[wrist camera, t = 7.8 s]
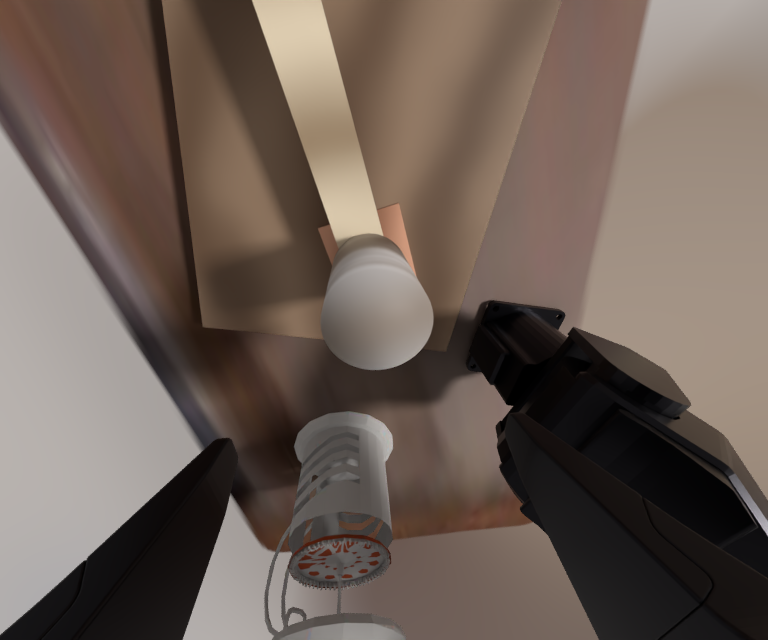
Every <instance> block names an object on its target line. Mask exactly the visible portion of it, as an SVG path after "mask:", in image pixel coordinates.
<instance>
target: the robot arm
mask: <svg viewBox="0 0 768 640" xmlns="http://www.w3.org/2000/svg"><path fill="white" fill-rule="evenodd" d="M495 306H497V307H496V309H493V307H495ZM557 315H558V317H556V316H557ZM564 318H565V313H564V312H563V311H561V310H559V309H553V308H546V307H538V306H531V305H524V304H516V303H509V302H502V301H492V302H490V303H489V305H488V307H487V309H486V312H485V315H484V317H483V320H482V323H481V325H480V326H479V327H478V329H477V332H476V335H475V337H474V340H473V343H472V345H471V348H470V351H469V352H470V354H469V357H468V360H467V362H466V366H467V368H468V370H470V371H476V372H482V373H483V374H484V376H485V377H486V379H487V381H488V382H489V384H490V385H494V386H495V387H496V389H497V390H498V392H499V393H500V395H501V397H502V398H503V400H504V401H505V403H506V404H507V405H511V406H513V407H512V408H511V410H510V411H509V412H508V414H507V415H506V416H505V417H504V419H503V420H502V421H499V422H498V424H497V425H496V432H497V438H498V443H497V449H498V453H499V456H500V460H501V462H502V463H501V464H500V466H499V468H500V471H501V473H502V475H503V477H504V478H505V480H506V482H507V483H508V485H509V486H510V488H511V490H512V491H513V492H514V494H515V495H516V496H517V498H518V499H519V500H520V501H521V502H522V503H523V505H522V506H521V507H520V510H521V512H522V513H523V514H524V515H525V516H526V517H528V518H529V519H530V520H531V521H533V522H534V523H535V524H537V525H538V526H539V527H540V528H541V529H542V530H543V531H544V532H545V533H546V534H547V535H548V536H549V538H550V540H551V542H552V544H553V546H554V548H555V550H556V552H557V555H558V556H559V558H560V561H561V563H562V565H563V567H564V569H565V571H566V573H567V575H568V577H569V579H570V581H571V583H572V585H573V587H574V589H575V591H576V593H577V595H578V597H579V600H580V601H581V603H582V606H583V608H584V610H585V612H586V613H587V616H588V618H589V620H590V622H591V624H592V626H593V628H594V630H595V632H596V634H597V636H598V638H599V640H768V500H767V499H766V497H765V495H764V494H763V492H762V491H761V490H760V488H759V487H758V485H757V483H756V482H755V480H754V479H753V477H752V476H751V474H750V473H749V471H748V470H747V468H746V467H745V465H744V464H743V462H742V461H741V459H740V458H739V456H738V455H737V453H736V451H735V450H734V448H733V447H732V446H731V444H730V443H729V441H728V439H727V438H726V437H725V436H724V435H723V434H722V433H720V432H719V431H718V430H716V429H715V428H713V427H712V426H710V425H709V424H707V423H706V422H704V421H703V420H701V419H699V418H698V417H696V416H695V415H693V414H692V413H690V412H689V411H687V410H686V409H688V408H689V407H690V406H691V403H690V401H689V400H688V398H687V397H686V396H685V395H684V393H683V392H682V391H681V389H680V388H679V387H678V386H677V384H676V383H675V381H674V380H673V379H672V378H671V376H670V375H669V374H668V373H667V371H666V370H664V369H663V368H661V367H660V366H658V365H656V364H655V363H653V362H651V361H650V360H648V359H646V358H644V357H643V356H641V355H639V354H638V353H636V352H634V351H632V350H631V349H629V348H627V347H625V346H622V345H619V344H617V343H614V342H612V341H609V340H606V339H604V338H601V337H599V336H596V335H593V334H590V333H588V332H586V331H583V330H580V329H578V328H575V327H573V328H572V329H571V330H570V332H569V333H568V335H569V336H568V337H566V336H565V335H563V334H562V333H561V332H560V331H558V329H559V327H560V326H561V324H562V322H563V320H564ZM472 364H474V365H473V366H471V365H472ZM237 463H238V455H237V452H236V449H235V447H234V444H233V442H232V440H231V439H230V438H220V439H216V440H214V441H213V442H212V443H211V444H210V445H209V446H208V447H206V448H205V449H204V450H203V451H202V452H201V453H200V454H199V455H198V456H197V457H196V458H195V459H193V460H192V461H191V462H190V463H189V464H188V465H187V466H186V467H185V468H184V469H183V470H182V471H180V473H178V474H177V475H176V476H175V477H174V478H173V479H172V480H171V481H170V482H169V483H167V484H166V485H165V486H164V487H163V488H162V489H161V490H160V491H159V492H158V493H157V494H156V495H154V496H153V497H152V498H151V499H150V500H149V501H148V502H147V503H146V504H145V505H144V506H143V507H141V509H139V510H138V511H137V512H136V513H135V514H134V515H133V516H132V517H131V518H130V519H129V520H127V521H126V522H125V523H124V524H123V525H122V526H121V527H120V528H119V529H118V530H117V531H116V532H115V533H113V534H112V535H111V536H110V537H109V538H108V539H107V540H106V541H105V542H104V543H103V544H102V545H100V546H99V547H98V548H97V549H96V550H95V551H94V552H93V553H92V554H91V555H90V556H88V558H87V561H86V560H85V561H83V562H82V563H81V564H80V565H79V566H77V567H76V568H75V569H74V570H73V571H72V572H71V573H70V574H69V575H68V576H67V577H66V578H64V579H63V580H62V581H61V582H60V583H59V584H58V585H57V586H56V587H54V589H52V590H51V591H50V592H49V593H48V594H47V595H46V596H44V597H43V598H42V599H41V600H40V601H39V602H38V603H37V604H36V605H34V606H33V607H32V608H31V609H30V610H29V611H27V612H26V613H25V614H24V615H23V616H22V617H20V618H19V619H18V620H17V621H16V622H15V623H13V624H12V625H11V626H10V627H9V628H8V629H7V630H5V631H4V632H3V633H2V634H1V635H0V640H183V637H184V634H185V631H186V628H187V625H188V622H189V619H190V616H191V614H192V610H193V608H194V605H195V602H196V599H197V596H198V593H199V590H200V587H201V584H202V581H203V578H204V576H205V573H206V569H207V567H208V564H209V560H210V558H211V555H212V552H213V549H214V546H215V543H216V540H217V538H218V534H219V532H220V529H221V526H222V523H223V520H224V516H225V513H226V509H227V505H228V501H229V497H230V493H231V488H232V484H233V480H234V476H235V471H236V467H237Z"/></svg>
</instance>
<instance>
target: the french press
mask: <svg viewBox="0 0 768 640" xmlns="http://www.w3.org/2000/svg"><path fill="white" fill-rule="evenodd" d="M294 448H295V451H296V455H297V458H298V460H299V461H300V462H301V463H302V467H301V473H300V478H299V484H298V490H297V495H296V501H295V506H294V513H293V518H292V524H291V525H290V526H289V527H288V529H287V530H286V532H285V534H284V535H283V537H282V538H281V540H280V543H279V545H278V548H277V550H276V553H275V555H274V558H273V560H272V563H271V566H270V570H269V575H268V580H267V585H266V590H265V622H266V625H267V627H268V630H269V632H270V633H271V634H272V635H274V637H273V639H272V640H406V637H405V633H404V631H403V630H402V628H401V626H400V625H398V624H397V623H396V622H394V621H393V620H392V619H390V618H385V617H381V616H378V615H374V614H358V613H356V614H355V613H341V614H340V610H341V588H342V589H343V590H344V588H345V587H347V589H349V587H351V588H354V586H356V587H357V586H358V585H359V586H361V585H362V584H363V585H365V584H366V583H369V582H371V581H373V580H374V579H377V578H379V576H381V575H382V574H384V573H385V572H386V570H387V568H388V566H389V565H390V564H391V556H390V552H389V550H388V549H387V548H388V546H389V545H390V543H391V542H392V540H393V538H392V528H391V517H390V507H389V497H388V488H387V478H386V468H385V461H386V460H387V459H388V457H389V455H390V453H391V451H392V449H393V440H392V434H391V433H390V431H389V430H388V429H387V427H386V426H385V424H384V423H382V422H380V421H379V420H377V419H375V418H373V417H372V416H370V415H367V414H361V413H356V412H350V411H347V412H338V413H328V414H326V415H324V416H321V417H319V418H317V419H314V420H312V421H310V422H309V423H308V424H307V425H306V426H305V427H304V428H303V429H302V430H301V431H300V432H299V433H298V435H297V439H296V442H295V445H294ZM313 475H317V476H318V478H317V479H316V480H315V481H313V482H312V483H311V481H312V476H313ZM316 487H317V490H316V495H315V496H314V497H313V498H312V499H311V500H309V496H310V492H311V491H312V490H314V489H315V488H316ZM344 511H346V512H355V513H363V514H362V515H347V514H345V513H342V512H344ZM372 516H374V517H376V519H375V521H374V522H373V523H371V524H370V525H369V526H367V527H366V528H364V529H363V530H346V529H344V528H341V527H339V520H341V521H344V522H347V523H362V522H364V521H365V520H367V519H369V518H370V517H372ZM312 518H313V522H312V523H311V524H310V525H309V527H308V528H307V529H306V530H305V525H306V520H309V519H312ZM380 520H383V521H384V523H383V525H382V527H381V529H380V530H379V532H378V534H377V536H376V538H375V539H373V538H370V537H368V535H369V534H371V533H372V532H374V530H375V528H376V527H377V525H378V524H379V522H380ZM311 528H312V532H311V540H310V542H308V543H306V544H305V545H303V539H304V536H305V535H306V534H307V532H308V531H309V530H310V529H311ZM289 531H290V536H289V542H288V545H289V547H290V550H291V552H292V556H291V558H290V561H289V564H288V568H287V570H286V573H285V579H284V585H283V591H282V620H283V625H284V628H283V630H282V631H280V632H278V631H276V630H275V629H273V628H272V625H271V622H270V619H269V614H268V590H269V586H270V581H271V577H272V573H273V569H274V564H275V561H276V558H277V556H278V553H279V551H280V548H281V546H282V543H283V541H284V540H285V538H286V536H287V535H288V533H289ZM289 572H290V574H291V576H292V577H293V578H294V579H295V580H296V581H299V583H302V584H303V585H304V584H305V587H306V586H307V585H309V587H311V586H313V589H314V587H317V589H318V588H321V590H322V588H325V590H326V589H327V588H330V590H331V588H334V590H335V589H336V588H338V606H337V614H334V615H328V616H320V617H314V618H311V619H308V620H306V614H305V613H304V611H303V610H302V609H299V608H295V607H293V608H290V609H289V610H288V612H287V614H286V615H285V594H286V588H287V582H288V576H289ZM291 613H297V614H300V615H301V616H302V617H303V621H302V622H299V623H295V624H292V625H290V626H288V620H289V617H290V614H291Z"/></svg>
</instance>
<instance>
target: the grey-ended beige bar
mask: <svg viewBox="0 0 768 640" xmlns="http://www.w3.org/2000/svg"><path fill="white" fill-rule="evenodd" d="M252 2H253V4H254V7H255V10H256V13H257V16H258V19H259V22H260V25H261V27H262V30H263V33H264V36H265V39H266V42H267V45H268V48H269V50H270V53H271V56H272V59H273V62H274V65H275V68H276V71H277V73H278V76H279V79H280V82H281V85H282V88H283V91H284V94H285V96H286V99H287V102H288V105H289V108H290V111H291V114H292V116H293V119H294V122H295V125H296V128H297V131H298V134H299V137H300V139H301V142H302V145H303V148H304V151H305V154H306V157H307V160H308V162H309V165H310V168H311V171H312V174H313V177H314V180H315V183H316V185H317V188H318V191H319V194H320V197H321V200H322V203H323V206H324V208H325V211H326V214H327V217H328V220H329V223H330V226H331V229H332V231H333V234H334V237H335V240H336V243H337V246H338V249H339V250H338V251H337V253H336V255H335V257H334V261H333V265H332V269H331V273H330V278H329V282H328V286H327V291H326V295H325V299H324V304H323V308H322V312H321V320H320V323H321V331H322V335H323V338H324V341H325V342H326V344H327V346H328V347H329V349H330V350H331V351H332V352H333V353H334V355H335V356H337V357H338V358H339V359H340V360H342V361H344V362H345V363H347V364H349V365H351V366H354V367H357V368H361V369H366V370H383V369H389V368H393V367H396V366H399V365H401V364H403V363H405V362H407V361H408V360H410V359H411V358H413V357H414V356H415V355H416V354H417V353H418V352H420V350H421V349H422V348H423V347H424V345H425V344H426V342H427V341H428V339H429V337H430V334H431V331H432V327H433V309H432V306H431V302H430V300H429V298H428V296H427V294H426V293H425V291H424V289H423V287H422V286H421V284H420V282H419V281H418V279H417V277H416V275H415V274H414V272H413V270H412V268H411V267H410V265H409V263H408V262H407V260H406V258H405V256H404V255H403V253H402V251H401V250H400V248H399V247H398V246H397V245H396V244H395V243H394V242H393V241H392V240H390V239H389V238H387V237H385V236H383V232H382V229H381V225H380V221H379V217H378V213H377V210H376V206H375V202H374V198H373V195H372V191H371V187H370V183H369V179H368V176H367V172H366V168H365V164H364V160H363V157H362V153H361V149H360V145H359V142H358V138H357V134H356V130H355V126H354V123H353V119H352V115H351V111H350V108H349V104H348V100H347V96H346V92H345V89H344V85H343V81H342V77H341V73H340V70H339V66H338V62H337V58H336V55H335V51H334V47H333V43H332V39H331V36H330V32H329V28H328V24H327V21H326V17H325V13H324V9H323V5H322V2H321V0H252Z"/></svg>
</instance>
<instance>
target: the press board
mask: <svg viewBox="0 0 768 640" xmlns="http://www.w3.org/2000/svg"><path fill="white" fill-rule="evenodd" d="M321 2H322V5H323V9H324V13H325V17H326V21H327V24H328V28H329V32H330V36H331V39H332V43H333V47H334V51H335V55H336V58H337V62H338V66H339V70H340V73H341V77H342V81H343V85H344V89H345V92H346V96H347V100H348V104H349V108H350V111H351V115H352V119H353V123H354V126H355V130H356V134H357V138H358V142H359V145H360V149H361V153H362V157H363V160H364V164H365V168H366V172H367V176H368V179H369V183H370V187H371V191H372V195H373V198H374V202H375V206H376V210H377V213H378V217H379V221H380V225H381V229H382V232H383V236H385V237H387V238H389V239H390V240H392V241H393V242H394V243H395V244H396V245H397V246H398V247H399V248H400V250H401V251H402V253H403V255H404V256H405V258H406V260H407V262H408V263H409V265H410V267H411V268H412V270H413V272H414V274H415V275H416V277H417V279H418V281H419V282H420V284H421V286H422V287H423V289H424V291H425V293H426V294H427V296H428V298H429V300H430V302H431V306H432V309H433V327H432V331H431V334H430V337H429V339H428V341H427V342H426V344H425V345H424V347H423V348H422V349H424V350H434V351H444V352H446V350H447V347H448V344H449V341H450V338H451V335H452V332H453V329H454V326H455V323H456V320H457V317H458V314H459V311H460V308H461V305H462V302H463V299H464V296H465V293H466V290H467V287H468V284H469V281H470V278H471V274H472V271H473V268H474V265H475V262H476V259H477V256H478V253H479V250H480V247H481V244H482V241H483V238H484V235H485V232H486V229H487V226H488V223H489V220H490V217H491V214H492V211H493V208H494V205H495V202H496V199H497V196H498V193H499V190H500V187H501V184H502V181H503V178H504V175H505V171H506V168H507V165H508V162H509V159H510V156H511V153H512V150H513V147H514V144H515V141H516V138H517V135H518V132H519V129H520V126H521V123H522V120H523V117H524V114H525V111H526V108H527V105H528V102H529V99H530V96H531V93H532V90H533V87H534V84H535V81H536V78H537V75H538V72H539V69H540V65H541V62H542V59H543V56H544V53H545V50H546V47H547V44H548V41H549V38H550V35H551V32H552V29H553V26H554V23H555V20H556V17H557V14H558V11H559V8H560V5H561V2H562V0H321ZM162 6H163V14H164V22H165V30H166V38H167V46H168V54H169V62H170V70H171V78H172V85H173V93H174V101H175V109H176V117H177V125H178V133H179V141H180V149H181V157H182V165H183V173H184V181H185V189H186V197H187V205H188V213H189V221H190V229H191V237H192V245H193V253H194V261H195V269H196V277H197V285H198V293H199V301H200V309H201V317H202V325H203V327H207V328H217V329H226V330H236V331H246V332H256V333H266V334H276V335H286V336H295V337H305V338H315V339H324V338H323V335H322V331H321V323H320V320H321V312H322V308H323V304H324V299H325V295H326V291H327V286H328V282H329V278H330V273H331V269H332V265H333V261H334V257H335V255H336V253H337V251H338V250H339V249H338V246H337V243H336V240H335V237H334V234H333V231H332V229H331V226H330V223H329V220H328V217H327V214H326V211H325V208H324V206H323V203H322V200H321V197H320V194H319V191H318V188H317V185H316V183H315V180H314V177H313V174H312V171H311V168H310V165H309V162H308V160H307V157H306V154H305V151H304V148H303V145H302V142H301V139H300V137H299V134H298V131H297V128H296V125H295V122H294V119H293V116H292V114H291V111H290V108H289V105H288V102H287V99H286V96H285V94H284V91H283V88H282V85H281V82H280V79H279V76H278V73H277V71H276V68H275V65H274V62H273V59H272V56H271V53H270V50H269V48H268V45H267V42H266V39H265V36H264V33H263V30H262V27H261V25H260V22H259V19H258V16H257V13H256V10H255V7H254V4H253V2H252V0H162Z"/></svg>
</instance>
